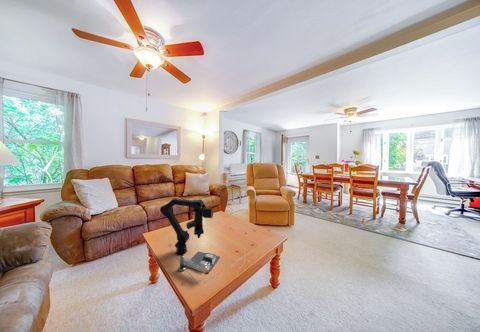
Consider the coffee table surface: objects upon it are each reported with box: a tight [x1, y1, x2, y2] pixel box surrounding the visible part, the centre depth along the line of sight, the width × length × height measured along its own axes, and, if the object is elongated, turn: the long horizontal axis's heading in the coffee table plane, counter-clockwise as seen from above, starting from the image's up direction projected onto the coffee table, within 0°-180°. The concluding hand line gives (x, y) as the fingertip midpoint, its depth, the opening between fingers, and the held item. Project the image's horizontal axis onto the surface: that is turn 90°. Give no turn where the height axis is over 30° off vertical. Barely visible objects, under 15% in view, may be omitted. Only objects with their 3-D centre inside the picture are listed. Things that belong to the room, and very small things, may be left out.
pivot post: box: [177, 254, 187, 273], centre depth 99 cm, size 5×5×8 cm
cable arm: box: [183, 257, 207, 274], centre depth 94 cm, size 18×2×3 cm, turn 65°
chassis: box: [184, 250, 221, 275], centre depth 106 cm, size 18×16×3 cm
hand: (198, 237), depth 114 cm, fingers closed
